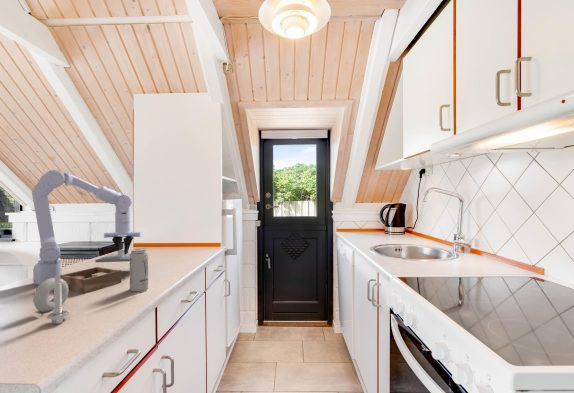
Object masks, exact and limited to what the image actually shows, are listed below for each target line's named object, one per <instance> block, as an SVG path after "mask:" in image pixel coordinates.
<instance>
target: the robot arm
mask: <svg viewBox="0 0 574 393" xmlns="http://www.w3.org/2000/svg"><path fill="white" fill-rule="evenodd" d="M63 184H64V186H73V187H77V188H79V189H82V190H84V191H88V192H90V193H92V194H94V195H95V197H96V199H98V200H100V201H103V202H104V203H108V204H110V205H114V206H115V213H114V218H115V221H114V222H115V224H114V225H115V226H114V227H115V232H105V233H103V238H104V239H106V238H112V239H111V241H112V242H113V244H114V245H115V246H114V247H115V248H116V250H117V252H118V251H119V250H122V249H124V253H125V254H129V249H130V246H131V243H132V242H133V240H134V238H141V237H142V231H131V208H130V207H131V205H132V203H133V202H132V199H131V198H130V196H128V195H126V194H122V192H121V191H116V190H114V189H112V188H111V187H110V186H109V185H106V186H105V185H103V186H97V185H94V184H93V183H90V182H88V181H86V180H84V179H83V178H80V177H79V176H75V175H74V174H73V175H72V174H71V173H68V172H63V171H61V170H58V169H50V170H49V171H47V172H46V173H44V174H42V175H41V177H40V178H39V180H38V182H37V183H36V184H35V186H34V187H33V190H32V191H31V196H32V202H33V207H34V212H35V218H36V224H37V229H38V234H39V239H40V241H39V242H40V249H39V255H38V256H39V259H40V260H38V262H37V263H36V264H35V265H34V267H33V269H32V271H33V273H32V274H33V275H32V277H33V278H32V279H33V280H32V281H33V284H34V285H38V286H39V285H40V284H41V283H43V282H44V281H45V280H48V279H50V278H55V276H56V275H59V276H60V275H63V259H62V258H60V257H61V255H62V254H61V249H60V246H59V245H58V244H57V242H56V237H55V231H54V225H53V220H52V219H53V218H52V214H51V208H50V202H49V195H50V194H51V193H52V192H53V191H54V190H55V189H57V188H59V187H61V186H63ZM122 245H123V246H124V248H123V247H122Z"/></svg>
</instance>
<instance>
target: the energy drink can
mask: <svg viewBox="0 0 574 393" xmlns="http://www.w3.org/2000/svg"><path fill="white" fill-rule="evenodd" d="M129 254H130V261H129V291H131V292H139V294H142V293H145V292H147V290H148V289H149V252H148V251H147V248H143V247H141V248H134V249H131V251H130V253H129Z"/></svg>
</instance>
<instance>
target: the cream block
mask: <svg viewBox="0 0 574 393" xmlns="http://www.w3.org/2000/svg"><path fill="white" fill-rule="evenodd" d="M103 274H107V273H104V272H101V273H96V274H92V277H96V276H99V275H103Z"/></svg>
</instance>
